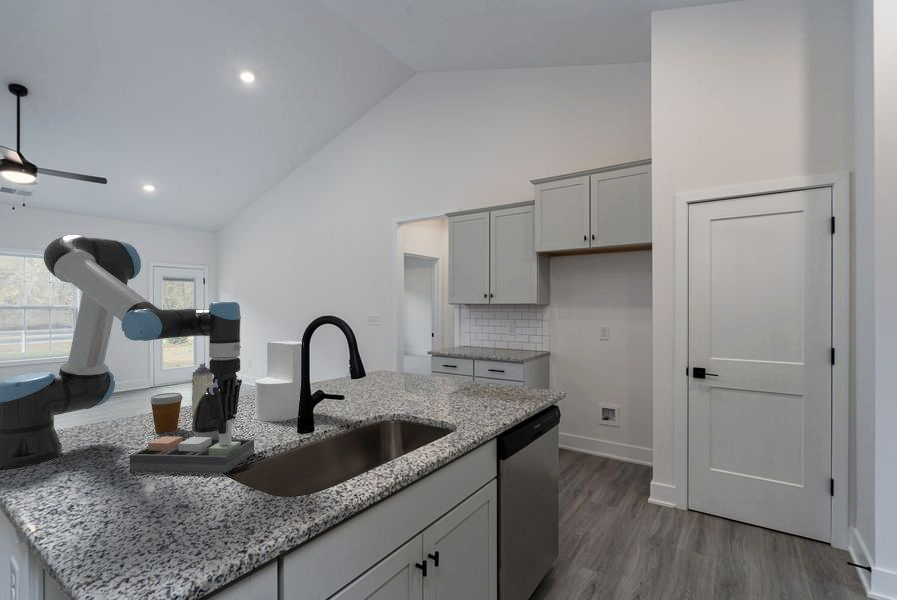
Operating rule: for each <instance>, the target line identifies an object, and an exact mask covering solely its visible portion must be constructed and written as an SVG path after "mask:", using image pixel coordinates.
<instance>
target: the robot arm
mask: <svg viewBox="0 0 897 600" xmlns="http://www.w3.org/2000/svg"><path fill="white" fill-rule="evenodd" d="M43 262H44V265H45V267H46V268H47V270H48V271H49V273H51V275H53V276H54V277H55V278H57V279H58V280H60V281H61V282H64V283H67V284H72V285H73V286H74V287H76V289H78V290H80V291H81V292H82V294H81V299H80V304H79V308H78V313H77V318H76V323H75V329H74V332H73V338H72V342H71V346H70V351H69V356H68V360H67V361H66V362H64V363H63V364H61V365H60V368H59V372H58V374H57V375H55V374H54V373H53V372H52V371H40V372H39V371H38V372H33V373H25V374H21V375H15V376H12V377H9V378H6V379H3V380H2V381H0V470H5V469H14V468H21V467H26V466H29V465H31V466H32V465H35V464H38V463H43V462H46V461H49V460H52V459H54V458H56V457H58V456H60V455H61V454H63V444H62V442H61V441H60V438H59V435H58V434H57V431H56V429H55V416H58V415H63V414H64V415H65V414H67V413H71V412H72V413H73V412H77V411H81V410H82V411H83V410H89V409H92V408H94V407H97V406H98V407H99V406H101V405H103V404H105V403H106V402H108V401H109V399H110V398H111V397H112V396H113V394H114V391H115V387H116V380H114V379H115V376H114V374H113V373H112V372H111V371H110V368H109V365H107V364H106V363H105V360H106V356H107V350H108V347H109V341H110V339H111V334H112V327H113V322H114V319H115V318H117V320H119V321H121V325H120V326H121V331H122V332H123V333H124V336H125V337H126V338H127V339H129V340H131V341H134V342H135V341H143V342H145V341H154V340H156V341H157V340H162V339H164V340H165V339H175V338H176V339H177V338H185V337H188V338H190V337H209V341H208V342H209V344H208V345H209V346H208V351H209V352H208V357H209V358H210V359H209V362H208V363H209V366H208V367H209V368H208V369H209V372H210V373H211V374H212V376H213V377H212V386H211V387H207V389H206V391H207V393H208V395H209V400H210V406H211V412H212V419H213V421H218V423H219V445H229V444H231V439H232V424H233V423H232V420H235V419H236V417H237V416H236V415H237V414H238V406H239V398H240V391H241V386H242V383H243V380H242V379H238V376H237V373H238V372H240V370H241V358H240V356H241V319H242V316H241V309H240V308H241V307H240V304H239V303H238V302H236V301H216V302H215V301H213V302H210V303H209V308H208V309H207V308H206V309H204V308H202V309H201V308H184V309H183V308H182V309H161V308H159V307H157V306H156V305H155V304H152V303H151V302H150V301H148V300H147V299H146V298H145V297H143V296H142V295H141V294H139V293H138V292H136V291H135V290H133V288H131V287H129V286H128V283H129V280H133V279H135V278H137V276H138V275H139V274H140V272H141V268H142V261H141V257H140V254H139V253H138V250H137V249H136V248H135V247H134V246H133V245H132V244H130V243H128V242H125V241H120V240H115V239H109V238H99V237H92V236H84V235H77V234H75V235H74V234H73V235H72V234H71V235H64V236H61V237H58V238H56V239H54V240H53V241H51V242H50V243H49V244H48V245H47V247H46V248H45V250H44V253H43Z"/></svg>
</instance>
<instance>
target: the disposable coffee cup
mask: <svg viewBox="0 0 897 600" xmlns="http://www.w3.org/2000/svg"><path fill="white" fill-rule="evenodd" d="M183 398H184V397H183V395H182V393H180V392H165V393H159V394H155V395H152V396H151V397H150V400H149V402H150V404H151V410H152V417H153V423H154V424H153V425H154V431H155V433H158V434H165V433H171V432H174V431H177V430H178V427H179V419H180V412H181V407H182V406H181V405H182V401H183Z"/></svg>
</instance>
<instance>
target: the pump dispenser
mask: <svg viewBox="0 0 897 600" xmlns="http://www.w3.org/2000/svg"><path fill="white" fill-rule="evenodd" d="M191 431H192V432H193V433H192V434H193V437H211V439H219V423H218V421H213V419H212V412H211V406H210V400H209V395H208V393H205V394H203V395H202V397H201V398H200V400H199V402H198V404H197V407H196V410H195V413H194V417H192V423H191Z"/></svg>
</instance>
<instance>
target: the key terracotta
mask: <svg viewBox="0 0 897 600" xmlns="http://www.w3.org/2000/svg"><path fill="white" fill-rule="evenodd" d="M181 442H183V436H164V435H163V436H162V437H159V438H157V439H154V440H152V441H150V442H148V450H153V451H169V450H171V449H173V448H175V447H177V446H178V444H179V443H181Z"/></svg>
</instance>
